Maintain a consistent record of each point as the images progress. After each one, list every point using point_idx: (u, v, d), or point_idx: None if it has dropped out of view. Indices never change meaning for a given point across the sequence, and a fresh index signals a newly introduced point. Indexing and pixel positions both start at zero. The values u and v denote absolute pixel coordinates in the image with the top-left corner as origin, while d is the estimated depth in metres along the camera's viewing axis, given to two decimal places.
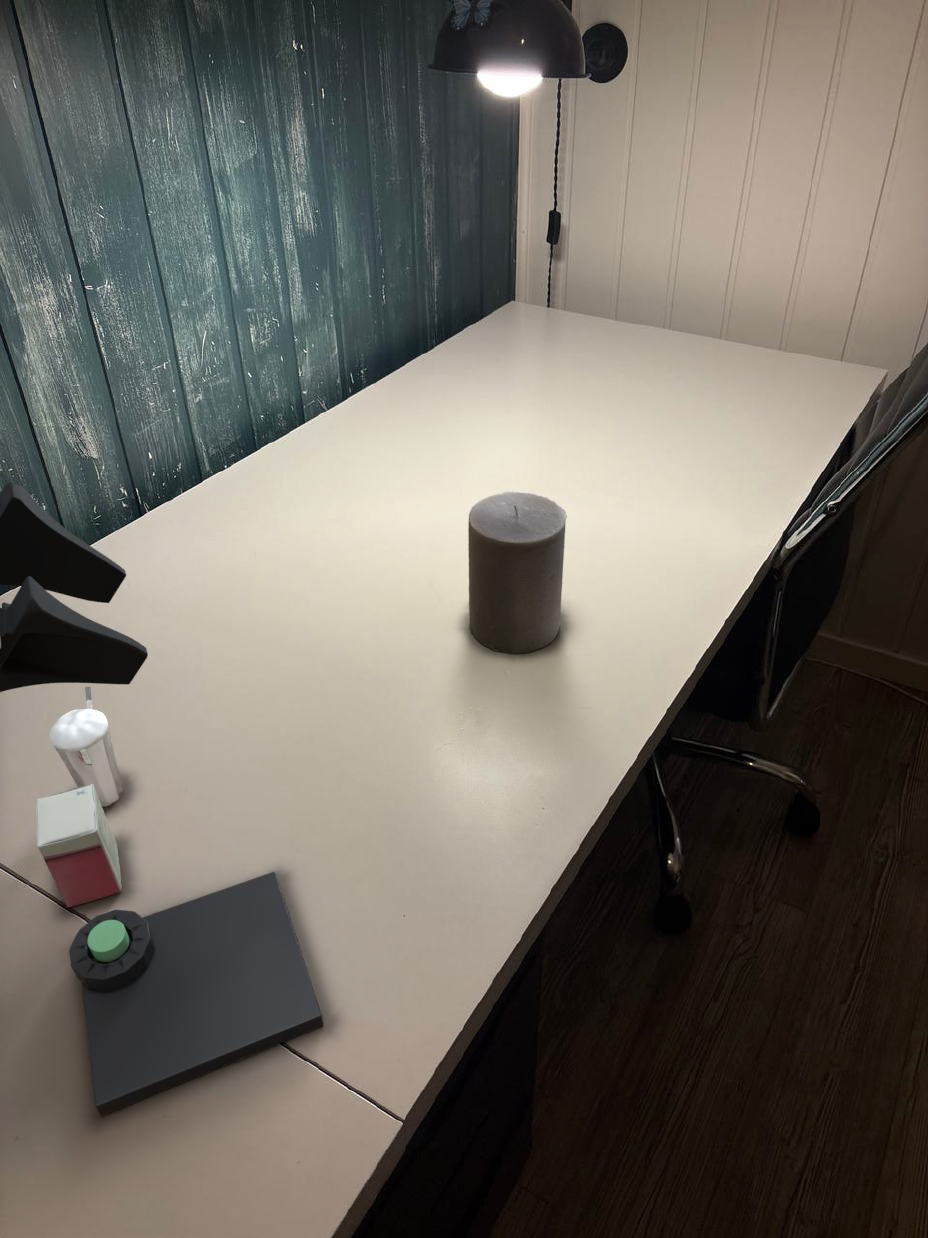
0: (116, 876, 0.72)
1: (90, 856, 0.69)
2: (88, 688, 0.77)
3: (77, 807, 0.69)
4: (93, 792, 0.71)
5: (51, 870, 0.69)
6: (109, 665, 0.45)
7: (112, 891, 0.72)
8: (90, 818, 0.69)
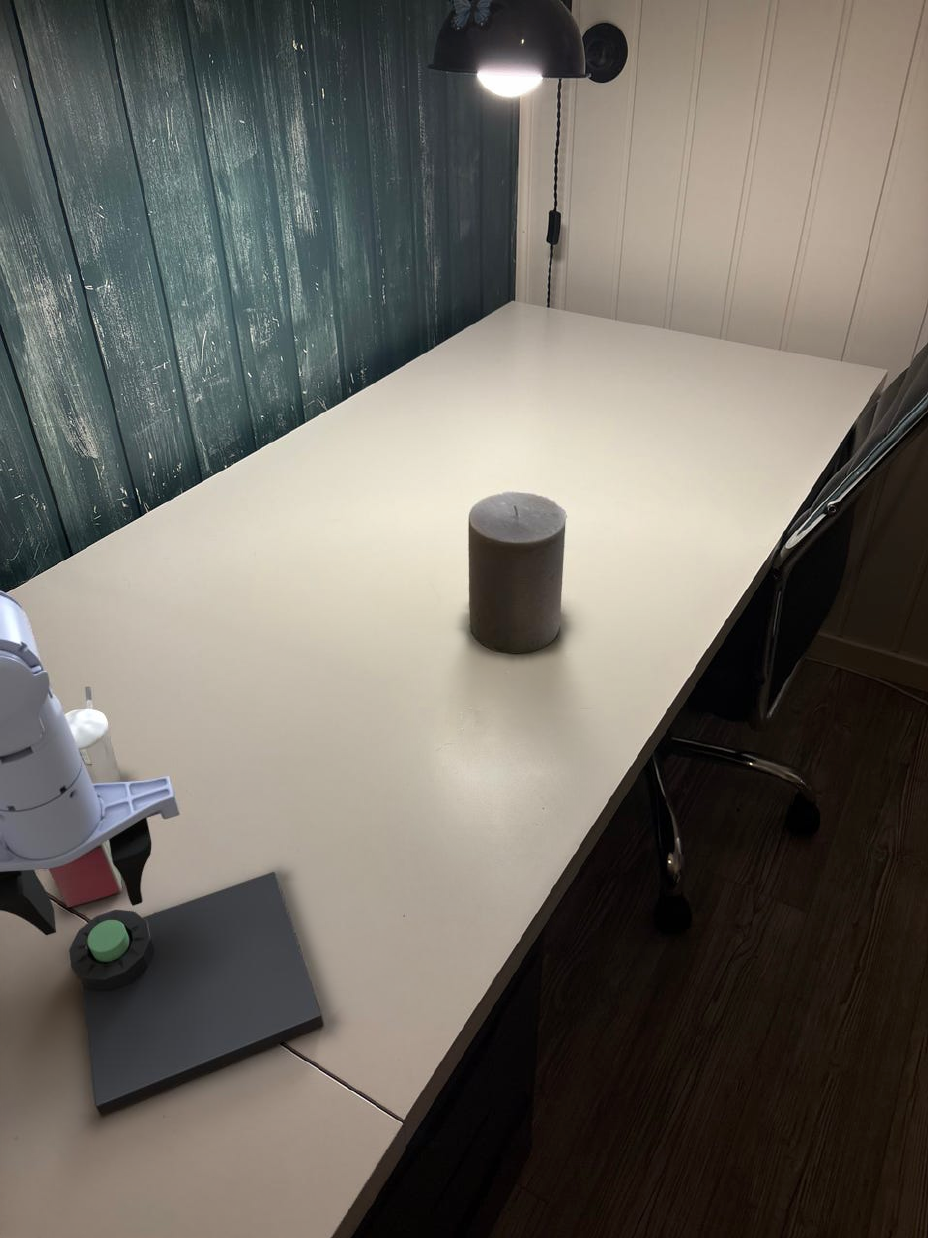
0: (116, 876, 0.72)
1: (90, 856, 0.69)
2: (88, 688, 0.77)
3: None
4: None
5: (51, 870, 0.69)
6: None
7: (112, 891, 0.72)
8: None
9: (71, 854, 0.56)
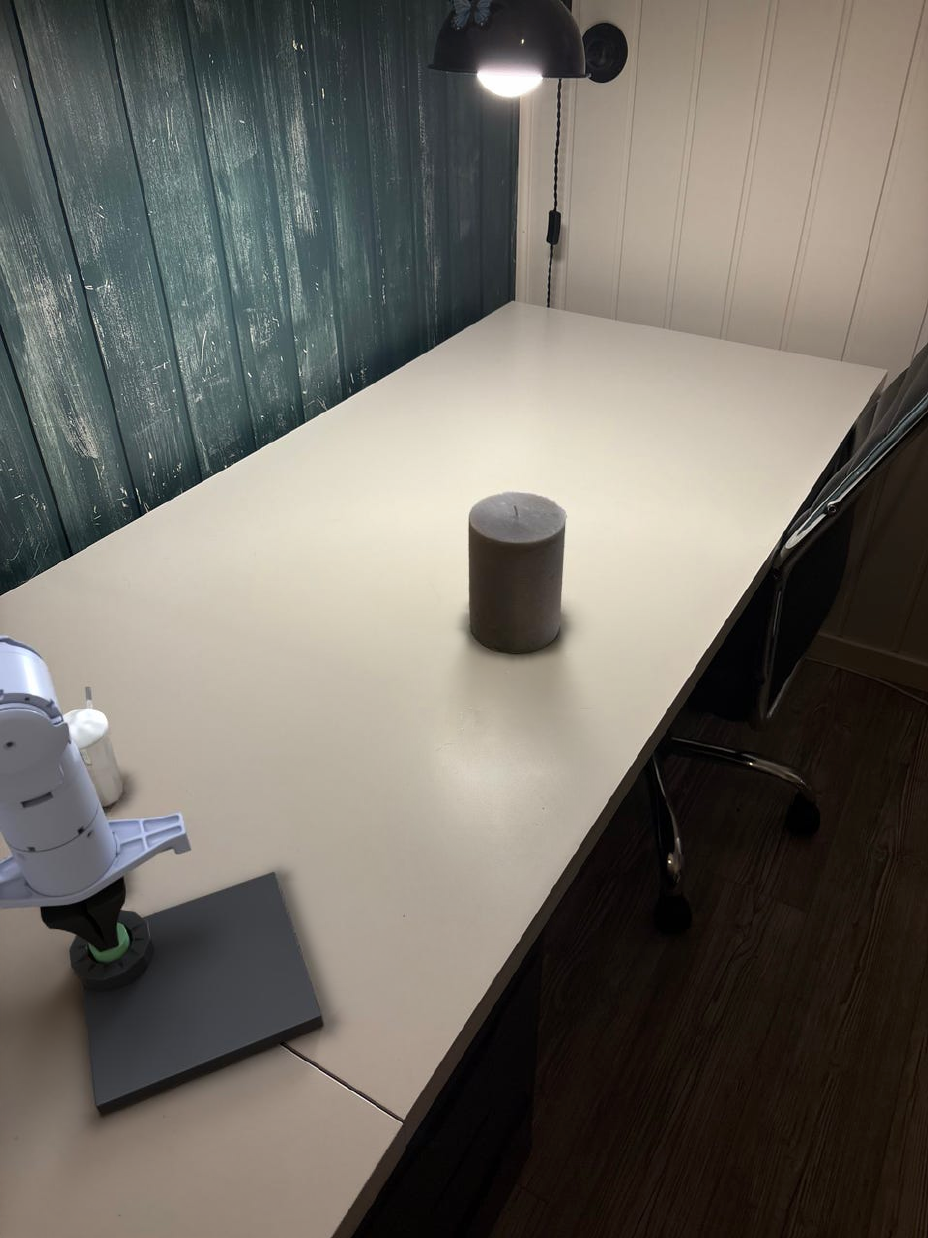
0: None
1: None
2: (88, 688, 0.77)
3: None
4: None
5: None
6: None
7: None
8: None
9: (88, 891, 0.58)
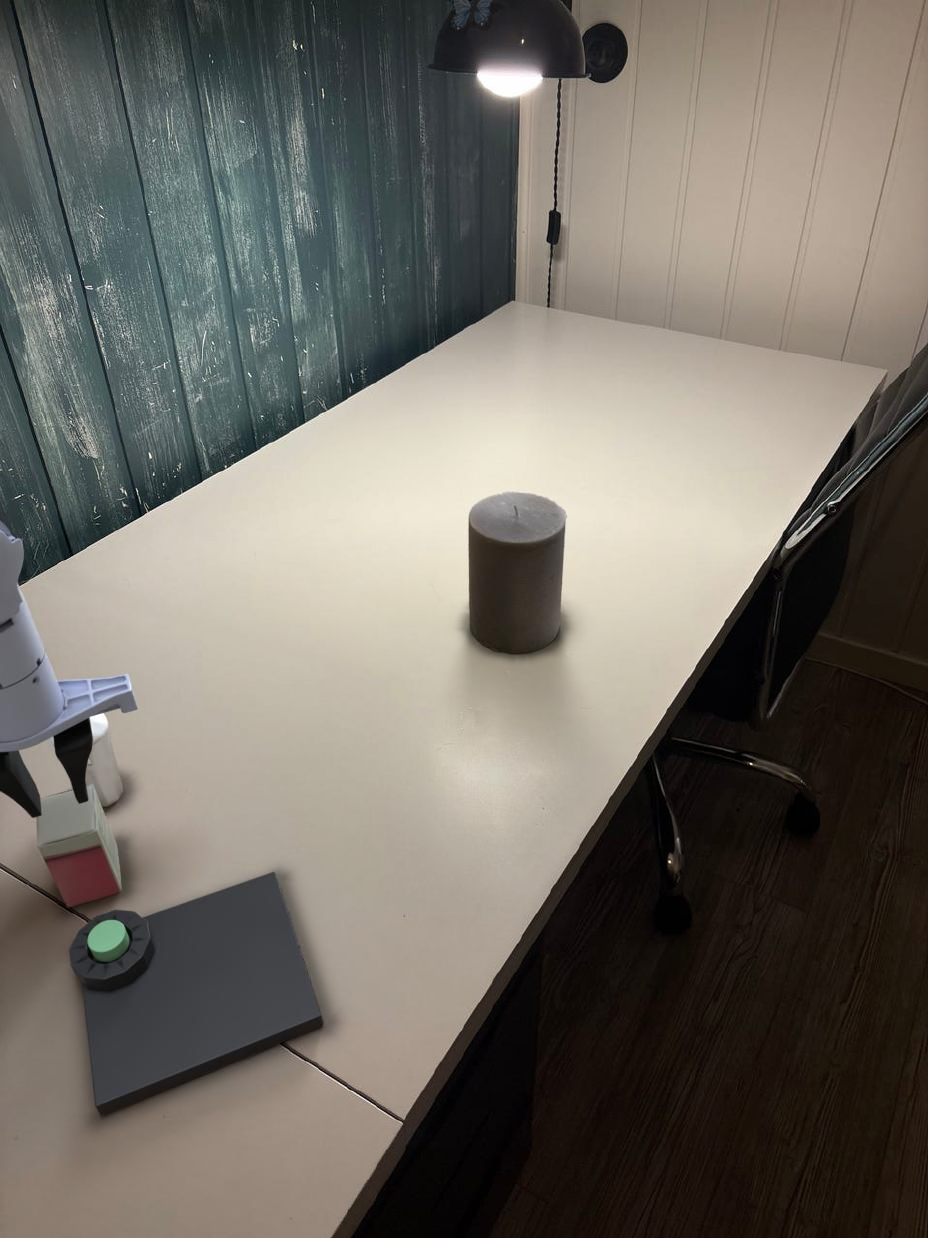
0: (116, 876, 0.72)
1: (90, 856, 0.69)
2: None
3: (77, 807, 0.69)
4: (93, 792, 0.71)
5: (51, 870, 0.69)
6: None
7: (112, 891, 0.72)
8: (90, 818, 0.69)
9: (35, 738, 0.61)
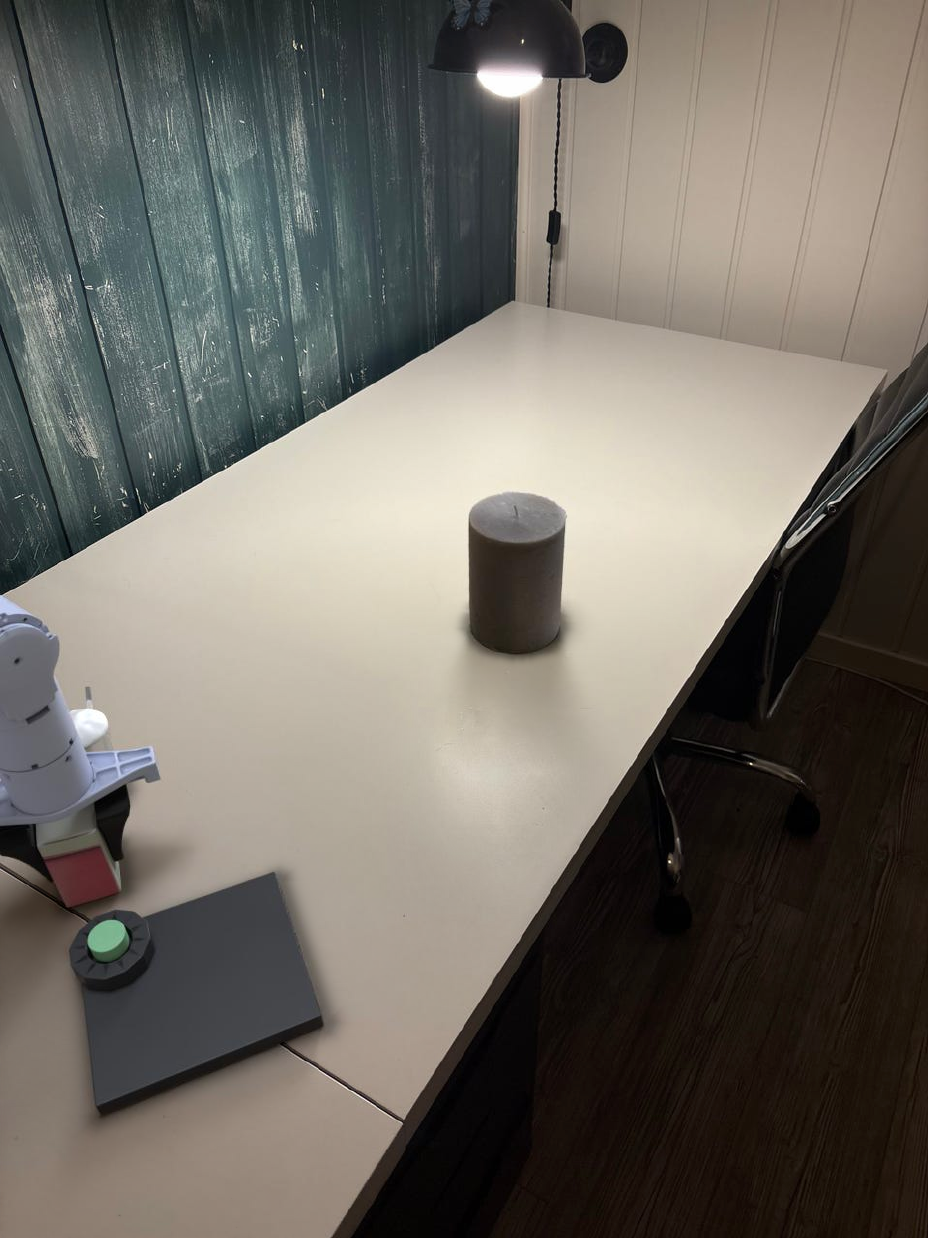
0: (115, 876, 0.72)
1: (90, 856, 0.69)
2: (88, 688, 0.77)
3: None
4: None
5: (50, 870, 0.69)
6: None
7: (111, 891, 0.72)
8: (89, 818, 0.69)
9: (67, 810, 0.65)
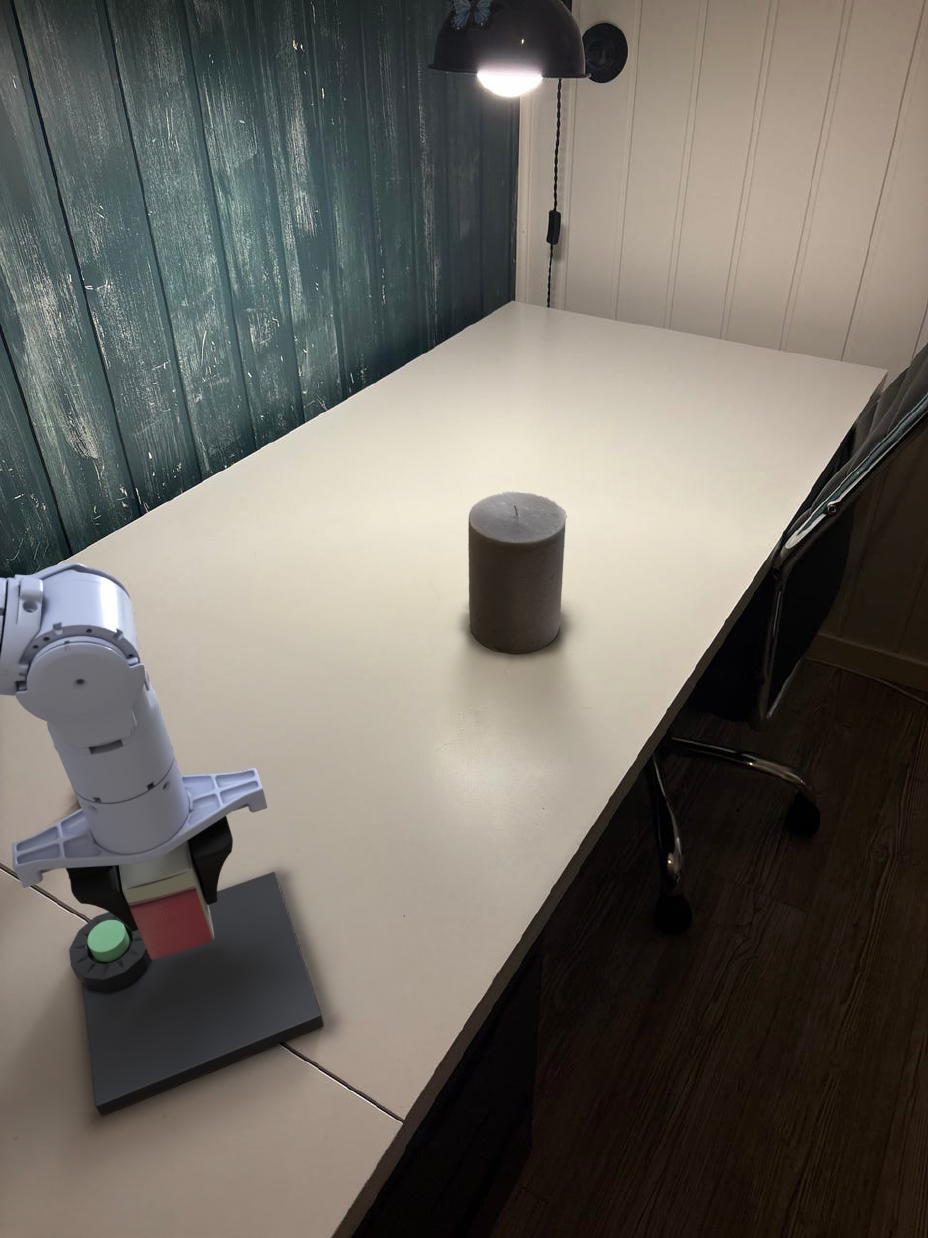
0: (209, 922, 0.60)
1: (183, 900, 0.57)
2: None
3: None
4: None
5: (136, 918, 0.57)
6: None
7: (204, 940, 0.60)
8: (183, 855, 0.57)
9: (162, 848, 0.53)
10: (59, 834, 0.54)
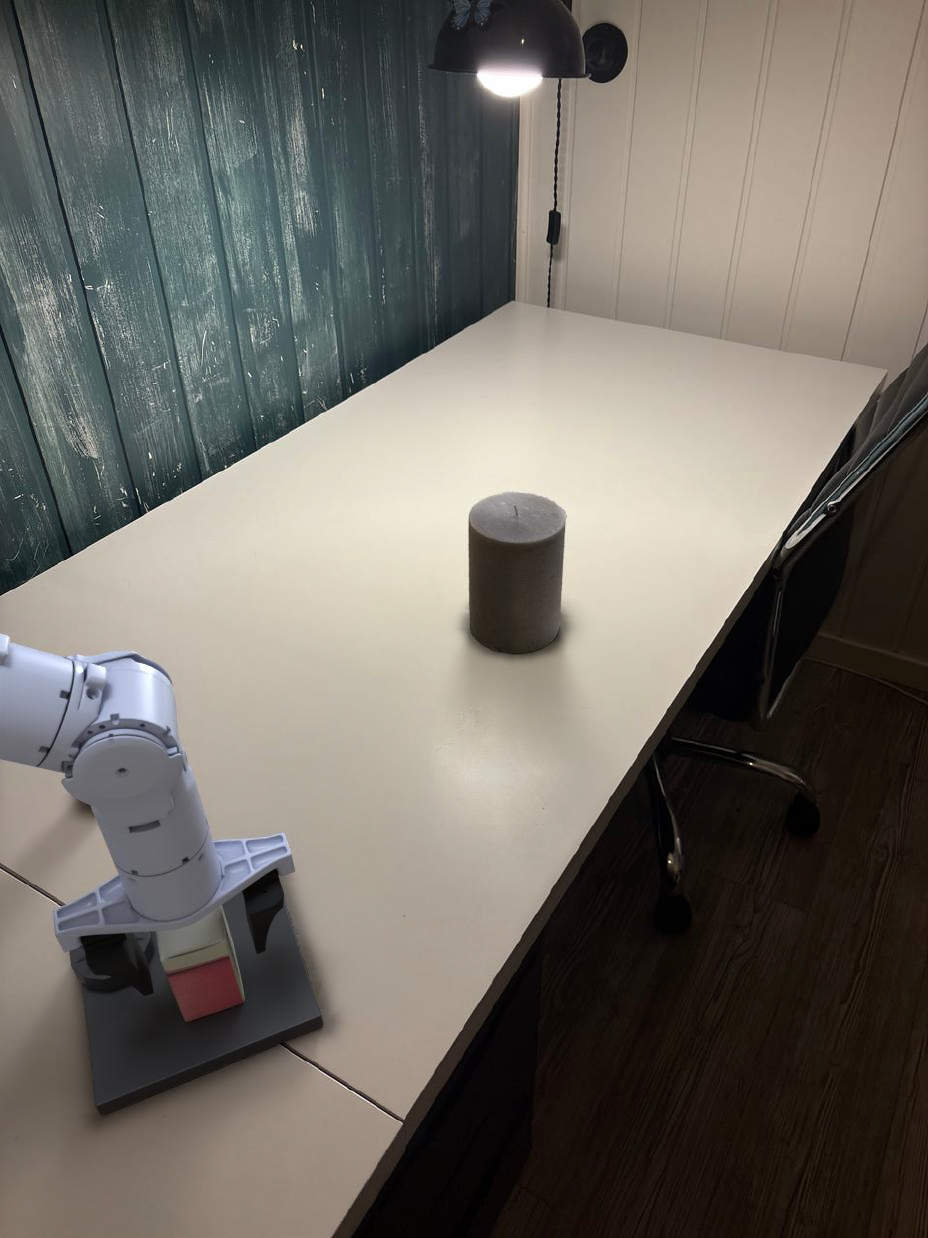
0: (240, 986, 0.63)
1: (216, 968, 0.60)
2: None
3: None
4: None
5: (172, 985, 0.60)
6: None
7: (235, 1002, 0.63)
8: (217, 925, 0.60)
9: (196, 915, 0.56)
10: (97, 900, 0.56)
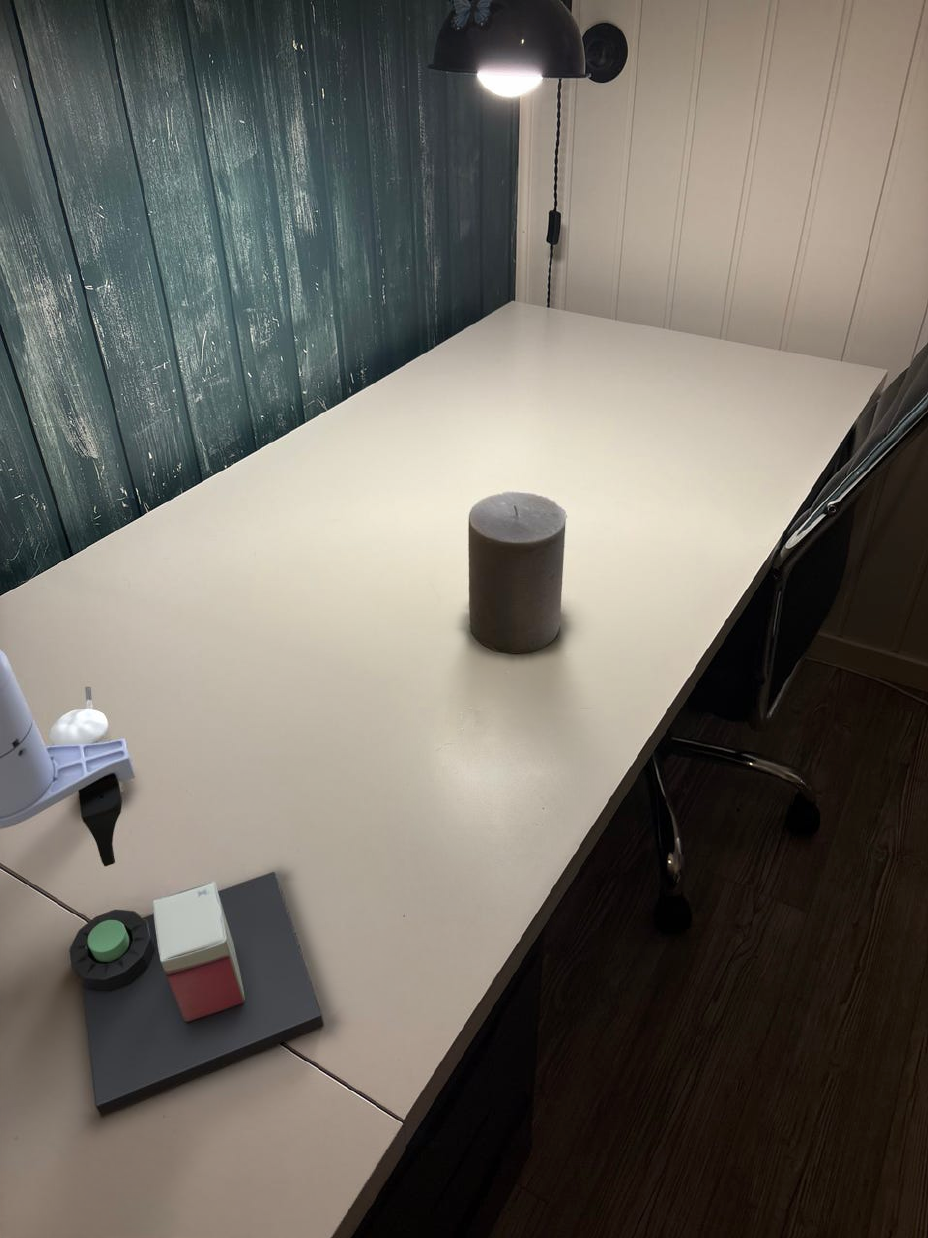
0: (240, 986, 0.63)
1: (216, 968, 0.60)
2: (88, 688, 0.77)
3: (200, 911, 0.61)
4: (216, 892, 0.62)
5: (172, 985, 0.60)
6: None
7: (235, 1002, 0.63)
8: (217, 925, 0.60)
9: (21, 814, 0.55)
10: None
